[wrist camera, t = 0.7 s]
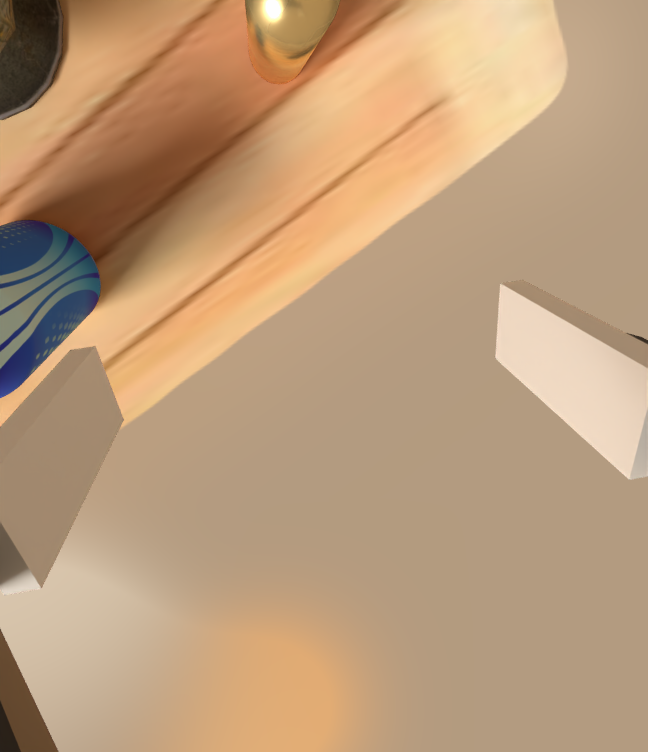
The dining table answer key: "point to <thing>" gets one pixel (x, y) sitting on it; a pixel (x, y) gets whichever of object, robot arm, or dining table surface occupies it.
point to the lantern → (28, 51)
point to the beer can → (40, 295)
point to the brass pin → (285, 34)
